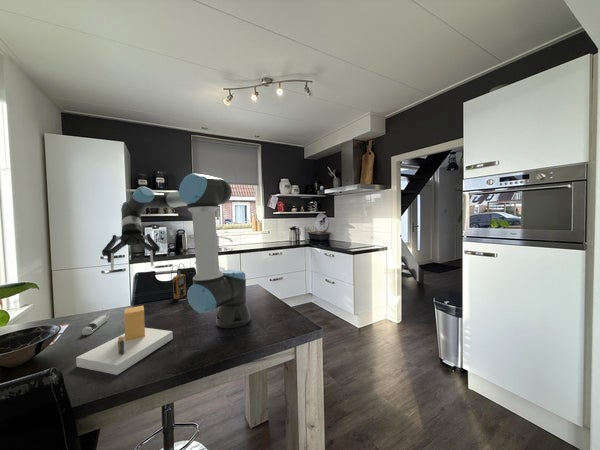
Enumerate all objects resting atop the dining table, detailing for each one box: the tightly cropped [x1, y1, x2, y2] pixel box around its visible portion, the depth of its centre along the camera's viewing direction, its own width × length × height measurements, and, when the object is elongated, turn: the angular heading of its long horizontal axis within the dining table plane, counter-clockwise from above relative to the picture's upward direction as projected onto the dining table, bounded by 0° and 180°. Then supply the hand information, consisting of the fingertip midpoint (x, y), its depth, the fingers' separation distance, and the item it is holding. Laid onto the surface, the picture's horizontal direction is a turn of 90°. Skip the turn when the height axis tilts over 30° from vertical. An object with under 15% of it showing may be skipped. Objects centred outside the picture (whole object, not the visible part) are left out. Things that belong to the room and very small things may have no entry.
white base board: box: [75, 327, 174, 376], centre depth 86 cm, size 17×22×9 cm
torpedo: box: [81, 307, 110, 336], centre depth 106 cm, size 18×5×7 cm, turn 16°
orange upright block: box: [123, 305, 146, 341], centre depth 91 cm, size 6×6×10 cm
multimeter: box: [170, 263, 188, 303], centre depth 142 cm, size 15×10×20 cm
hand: (132, 266), depth 99 cm, fingers open, 13 cm apart
